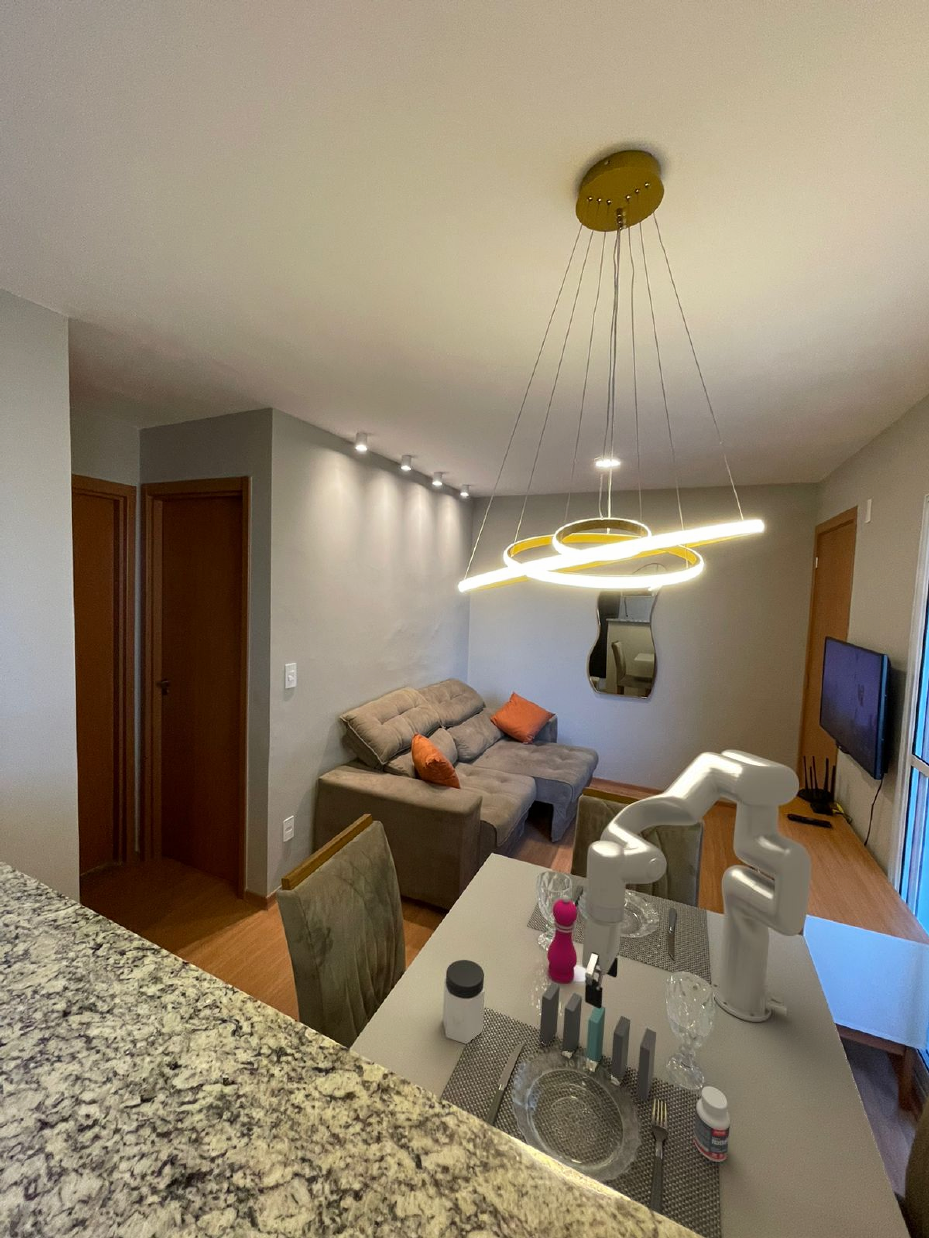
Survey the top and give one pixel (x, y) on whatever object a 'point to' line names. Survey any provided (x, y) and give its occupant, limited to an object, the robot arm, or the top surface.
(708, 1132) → the pill bottle
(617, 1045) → the domino
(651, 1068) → the domino
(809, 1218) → the top surface
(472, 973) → the jar
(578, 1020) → the domino
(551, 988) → the domino
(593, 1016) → the domino
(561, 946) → the pepper mill
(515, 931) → the top surface
